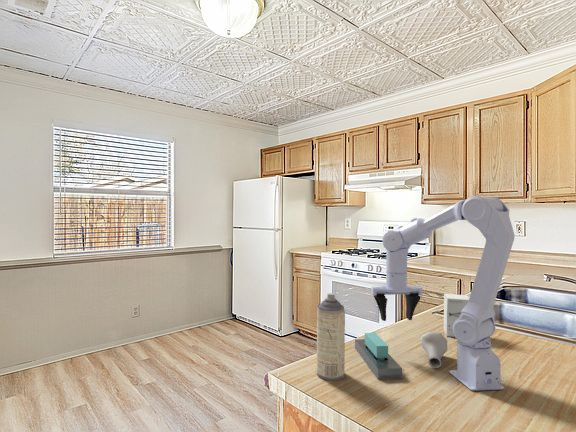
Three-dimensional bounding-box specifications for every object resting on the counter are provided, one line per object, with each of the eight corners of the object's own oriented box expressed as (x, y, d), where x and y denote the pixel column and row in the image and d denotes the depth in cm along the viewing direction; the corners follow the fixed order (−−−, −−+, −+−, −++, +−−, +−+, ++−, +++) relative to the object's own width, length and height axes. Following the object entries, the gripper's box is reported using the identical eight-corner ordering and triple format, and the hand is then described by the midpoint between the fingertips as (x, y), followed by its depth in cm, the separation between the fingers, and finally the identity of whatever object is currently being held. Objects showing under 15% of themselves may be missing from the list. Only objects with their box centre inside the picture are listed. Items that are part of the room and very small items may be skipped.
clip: (388, 369, 92) (388, 345, 92) (376, 369, 92) (376, 346, 92) (374, 353, 102) (375, 332, 102) (364, 354, 102) (364, 333, 102)
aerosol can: (349, 377, 88) (350, 295, 87) (325, 382, 85) (326, 298, 84) (334, 366, 94) (335, 289, 94) (311, 371, 91) (312, 292, 91)
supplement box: (446, 336, 116) (446, 297, 116) (443, 329, 123) (443, 293, 123) (471, 339, 114) (471, 299, 114) (466, 331, 121) (467, 294, 121)
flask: (443, 328, 100) (444, 348, 91) (451, 352, 101) (454, 373, 91) (416, 333, 103) (416, 352, 94) (425, 355, 103) (425, 377, 94)
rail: (402, 378, 87) (402, 368, 87) (377, 379, 87) (378, 369, 86) (374, 347, 107) (374, 339, 107) (354, 348, 106) (354, 339, 106)
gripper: (414, 269, 108) (414, 314, 108) (367, 270, 106) (367, 316, 107) (425, 273, 101) (425, 322, 101) (375, 274, 99) (375, 323, 100)
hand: (396, 319), depth 103 cm, fingers open, 7 cm apart
